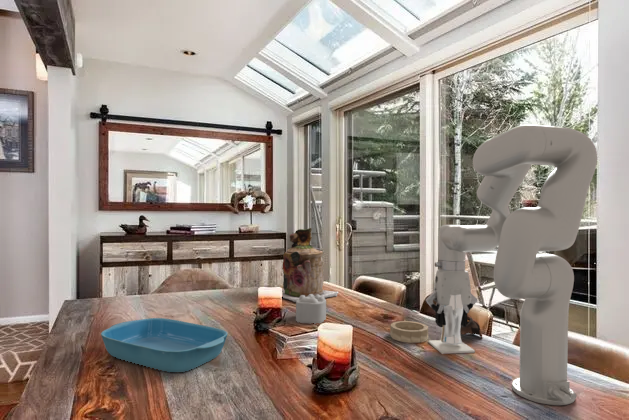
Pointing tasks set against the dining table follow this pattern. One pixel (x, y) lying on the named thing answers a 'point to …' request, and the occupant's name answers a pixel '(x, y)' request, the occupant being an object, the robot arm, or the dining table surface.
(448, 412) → the dining table surface
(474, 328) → the dark brown arch
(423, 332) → the collar
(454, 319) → the beer glass
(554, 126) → the robot arm
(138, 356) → the casserole dish
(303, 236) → the cookie jar
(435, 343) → the coaster
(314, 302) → the gray box with bumps
